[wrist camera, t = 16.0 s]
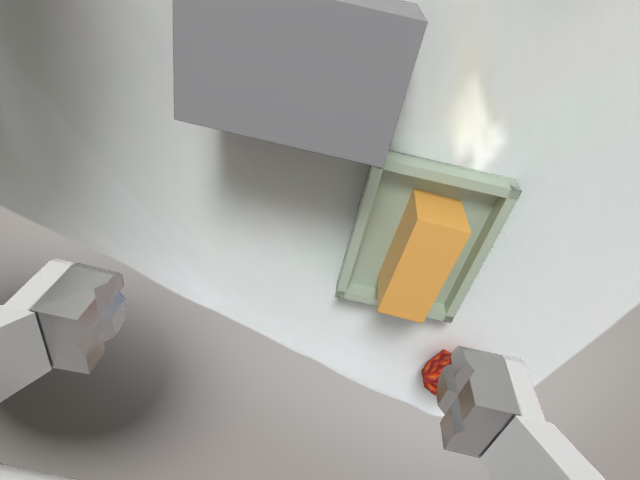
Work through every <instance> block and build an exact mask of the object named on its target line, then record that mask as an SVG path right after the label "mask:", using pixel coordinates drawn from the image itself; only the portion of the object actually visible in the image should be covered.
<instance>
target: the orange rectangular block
mask: <svg viewBox="0 0 640 480" xmlns="http://www.w3.org/2000/svg"><path fill="white" fill-rule="evenodd" d="M470 235H471V230H470V227H469V224H468V221H467V218H466V214H465V211H464V208H463V205H462V201H461V200H457V199H454V198H450V197H446V196H442V195H438V194H435V193H431V192H427V191H423V190H420V189H416V188H414V189H413V191H412V193H411V196H410V198H409V201H408V203H407V206H406V208H405V210H404V213H403V215H402V218H401V220H400V223H399V225H398V228H397V230H396V232H395V235H394V237H393V240H392V242H391V245H390V247H389V250H388V252H387V254H386V257H385V259H384V262H383V264H382V267H381V269H380V272H379V274H378V296H377V312H380V313H384V314H388V315H392V316H396V317H400V318H404V319H408V320H412V321H415V322H419V323H423V322H424V320H425V318H426V316H427V314H428V313H429V311H430V309H431V307H432V305H433V303H434V302H435V300H436V298H437V296H438V294H439V292H440V290H441V289H442V287H443V285H444V283H445V281H446V279H447V277H448V276H449V274H450V272H451V270H452V268H453V266H454V264H455V263H456V261H457V259H458V257H459V255H460V253H461V252H462V250H463V248H464V246H465V244H466V242H467V240H468V239H469V237H470Z"/></svg>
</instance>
